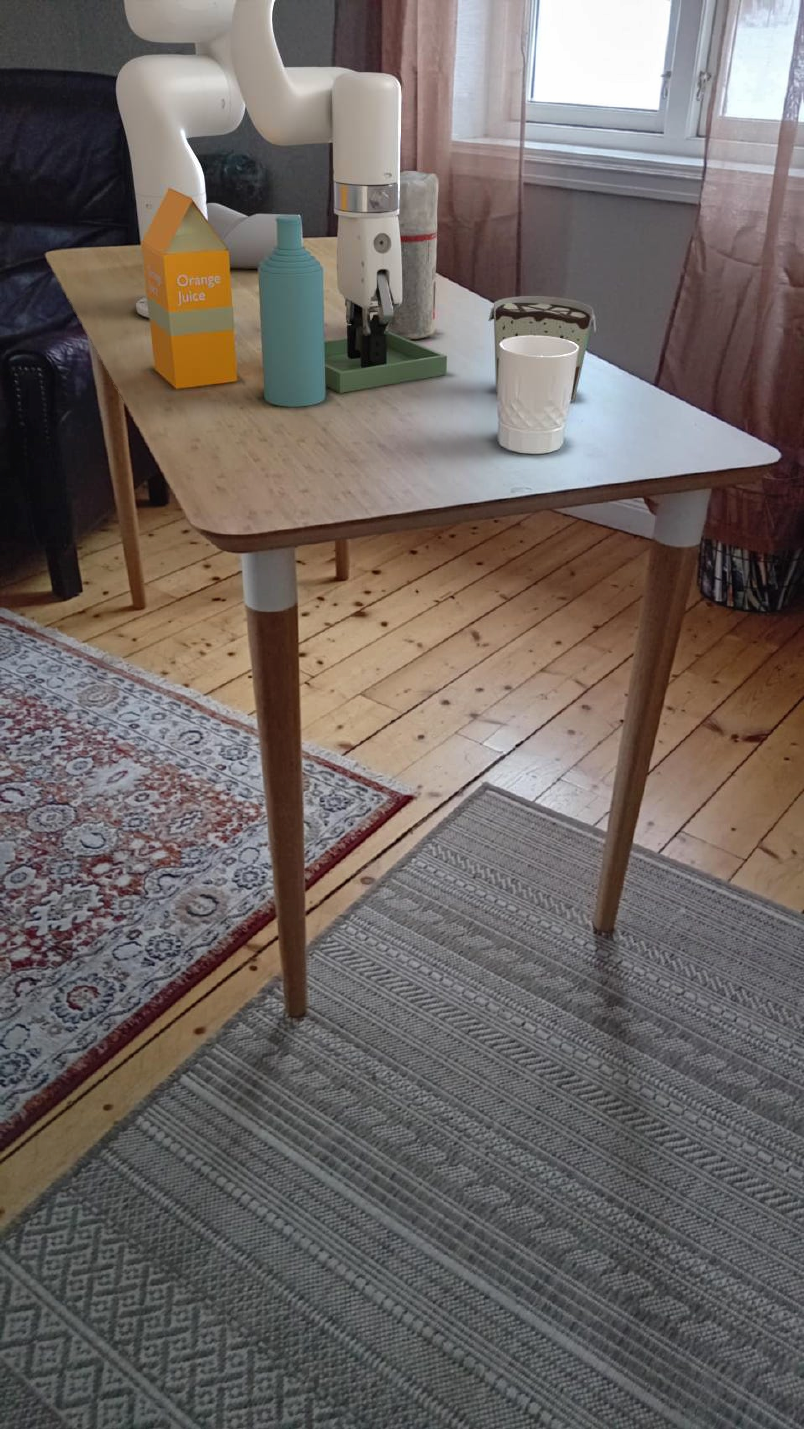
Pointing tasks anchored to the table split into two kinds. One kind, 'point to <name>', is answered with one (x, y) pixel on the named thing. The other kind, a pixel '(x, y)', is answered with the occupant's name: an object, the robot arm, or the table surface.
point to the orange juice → (188, 296)
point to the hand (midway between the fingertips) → (366, 360)
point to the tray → (401, 365)
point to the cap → (359, 338)
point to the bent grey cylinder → (244, 234)
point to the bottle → (292, 320)
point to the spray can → (417, 255)
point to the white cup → (534, 392)
